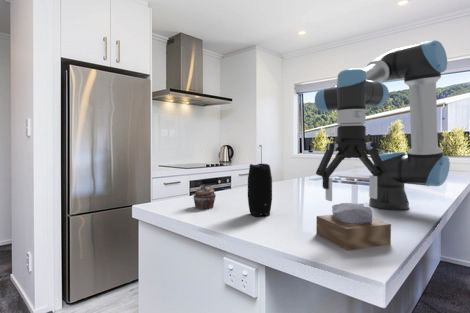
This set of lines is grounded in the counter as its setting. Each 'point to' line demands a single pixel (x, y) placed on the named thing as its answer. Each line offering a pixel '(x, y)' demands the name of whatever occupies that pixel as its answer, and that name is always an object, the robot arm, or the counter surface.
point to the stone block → (352, 213)
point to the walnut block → (353, 233)
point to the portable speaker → (259, 189)
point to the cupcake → (204, 197)
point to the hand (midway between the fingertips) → (351, 199)
